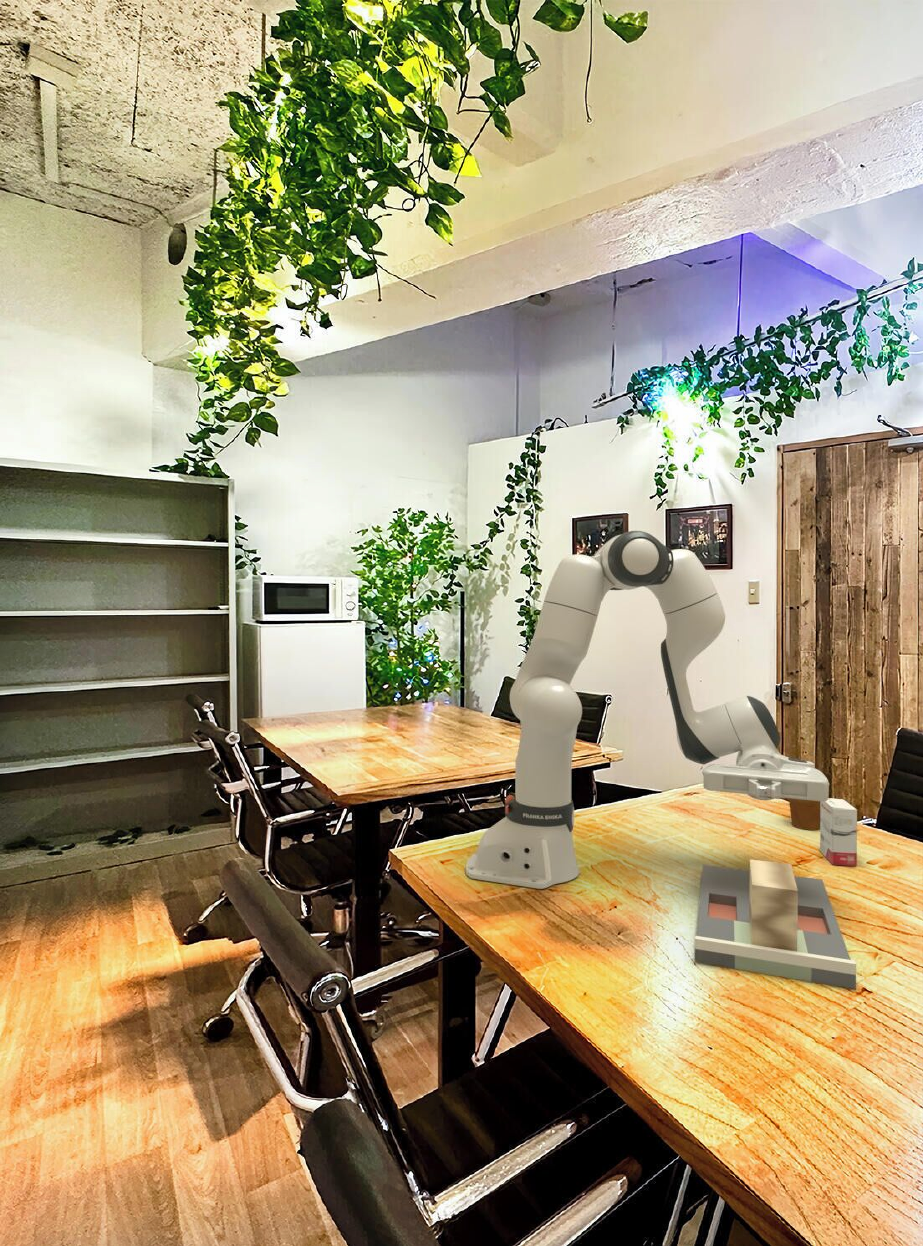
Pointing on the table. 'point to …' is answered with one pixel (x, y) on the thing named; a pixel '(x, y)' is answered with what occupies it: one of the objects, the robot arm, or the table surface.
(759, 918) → the maple block
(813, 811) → the disposable coffee cup
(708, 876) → the trap runway
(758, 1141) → the table surface
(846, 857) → the ink box
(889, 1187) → the table surface
